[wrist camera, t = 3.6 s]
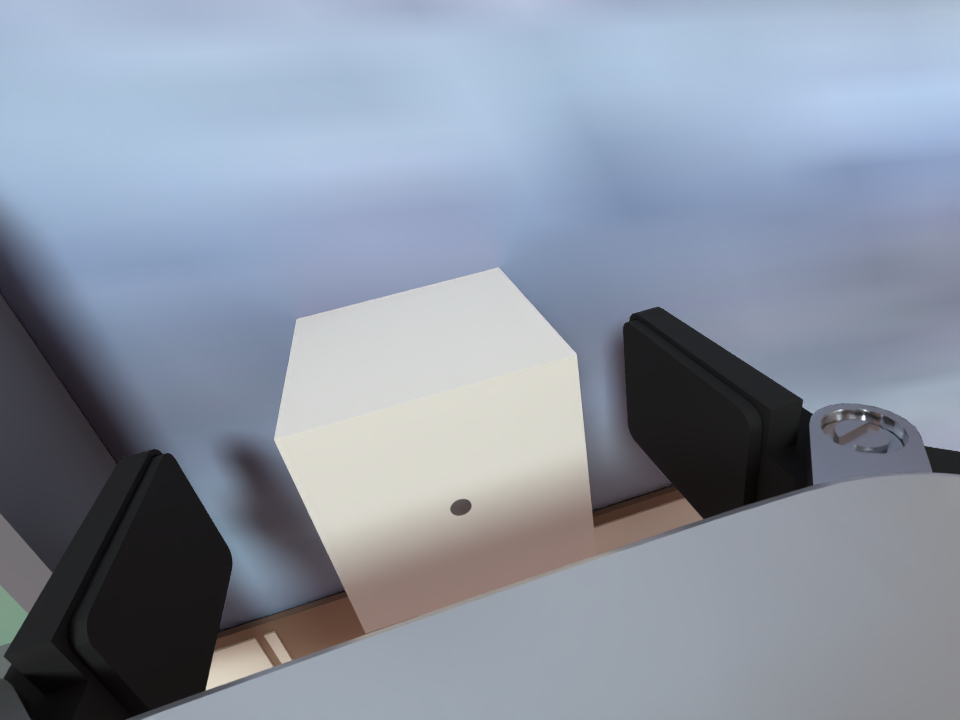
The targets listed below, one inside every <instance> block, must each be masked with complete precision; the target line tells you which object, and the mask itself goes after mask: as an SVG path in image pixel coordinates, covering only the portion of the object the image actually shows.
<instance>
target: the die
mask: <svg viewBox="0 0 960 720" xmlns="http://www.w3.org/2000/svg"><path fill="white" fill-rule="evenodd" d="M274 441H275V443H276V445H277V447H278V449H279V451H280V453H281V456H282V458H283V460H284V462H285V464H286V466H287V468H288V470H289V473H290V475H291V477H292V479H293V481H294V483H295V485H296V487H297V489H298V492H299V494H300V496H301V498H302V500H303V502H304V504H305V506H306V509H307V511H308V513H309V515H310V517H311V519H312V521H313V523H314V525H315V528H316V530H317V532H318V534H319V536H320V538H321V540H322V542H323V545H324V547H325V549H326V551H327V553H328V555H329V557H330V559H331V561H332V564H333V566H334V568H335V570H336V572H337V574H338V576H339V578H340V580H341V583H342V585H343V587H344V589H345V591H346V593H347V595H348V597H349V600H350V602H351V604H352V606H353V608H354V610H355V612H356V614H357V616H358V619H359V621H360V623H361V625H362V627H363V629H364V631H365V633H369V632H372V631H375V630H378V629H381V628H384V627H387V626H390V625H393V624H396V623H399V622H402V621H405V620H408V619H411V618H414V617H417V616H420V615H423V614H426V613H429V612H432V611H435V610H438V609H441V608H444V607H446V606H449V605H452V604H455V603H458V602H461V601H464V600H467V599H470V598H473V597H475V596H478V595H481V594H484V593H487V592H490V591H493V590H496V589H499V588H502V587H505V586H508V585H510V584H513V583H516V582H519V581H522V580H525V579H528V578H531V577H534V576H537V575H540V574H542V573H545V572H548V571H551V570H554V569H557V568H560V567H563V566H566V565H569V564H572V563H575V562H578V561H581V560H584V559H587V558H590V557H593V556H596V555H597V554H596V544H595V534H594V524H593V514H592V504H591V494H590V484H589V473H588V463H587V453H586V443H585V433H584V423H583V413H582V403H581V392H580V382H579V372H578V362H577V354H576V353H575V352H574V351H573V350H572V348H571V347H570V346H569V345H568V344H567V343H566V342H565V341H564V340H563V338H562V337H561V336H560V335H559V334H558V333H557V332H556V331H555V330H554V328H553V327H552V326H551V325H550V324H549V323H548V322H547V321H546V320H545V318H544V317H543V316H542V315H541V314H540V313H539V312H538V311H537V309H536V308H535V307H534V306H533V305H532V304H531V303H530V302H529V301H528V299H527V298H526V297H525V296H524V295H523V294H522V293H521V292H520V291H519V289H518V288H517V287H516V286H515V285H514V284H513V283H512V282H511V280H510V279H509V278H508V277H507V276H506V275H505V274H504V273H503V272H502V270H501V269H500V268H499V267H498V268H494V269H491V270H487V271H483V272H479V273H475V274H471V275H467V276H463V277H459V278H455V279H451V280H448V281H444V282H440V283H436V284H432V285H428V286H424V287H420V288H416V289H412V290H408V291H405V292H401V293H397V294H393V295H389V296H385V297H381V298H377V299H373V300H369V301H365V302H362V303H358V304H354V305H350V306H346V307H342V308H338V309H334V310H330V311H326V312H322V313H319V314H315V315H311V316H307V317H303V318H299V319H297V320H296V325H295V331H294V336H293V341H292V347H291V352H290V357H289V363H288V368H287V373H286V379H285V384H284V389H283V395H282V400H281V405H280V411H279V416H278V421H277V427H276V432H275V437H274Z"/></svg>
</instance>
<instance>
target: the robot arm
mask: <svg viewBox="0 0 960 720" xmlns="http://www.w3.org/2000/svg"><path fill="white" fill-rule="evenodd" d="M623 335H624V355H625V374H626V394H627V413H628V427H629V430H630V433H631V435H632V437H633V439H634V440H635V441H636V443H637V444H638V445H639V446H640V447H641V448H642V449H643V451H644V452H645V453H646V454H647V455H648V456H649V457H650V459H651V460H652V461H653V462H654V463H655V464H656V465H657V467H658V468H659V469H660V470H661V471H662V472H663V473H664V475H665V476H666V477H667V478H668V479H669V480H670V482H671V483H672V484H673V485H674V486H675V487H676V488H677V490H678V491H679V492H680V493H681V494H682V495H683V496H684V498H685V499H686V500H687V501H688V502H689V503H690V504H691V506H692V507H693V508H694V509H695V510H696V511H697V512H698V514H699V515H700V516H701V517H702V518H703V520H700V521H697V522H694V523H690V524H687V525H684V526H681V527H678V528H675V529H672V530H669V531H666V532H664V533H661V534H658V535H655V536H652V537H649V538H646V539H643V540H640V541H637V542H634V543H631V544H628V545H625V546H622V547H619V548H616V549H613V550H610V551H607V552H604V553H601V554H598V555H596V556H593V557H590V558H587V559H584V560H581V561H578V562H575V563H572V564H569V565H566V566H563V567H560V568H557V569H554V570H551V571H548V572H545V573H542V574H540V575H537V576H534V577H531V578H528V579H525V580H522V581H519V582H516V583H513V584H510V585H508V586H505V587H502V588H499V589H496V590H493V591H490V592H487V593H484V594H481V595H478V596H475V597H473V598H470V599H467V600H464V601H461V602H458V603H455V604H452V605H449V606H446V607H444V608H441V609H438V610H435V611H432V612H429V613H426V614H423V615H420V616H418V617H415V618H412V619H409V620H406V621H403V622H400V623H397V624H394V625H392V626H389V627H386V628H383V629H380V630H377V631H374V632H371V633H368V634H366V635H363V636H360V637H357V638H354V639H351V640H349V641H346V642H343V643H340V644H337V645H334V646H331V647H329V648H326V649H323V650H320V651H317V652H314V653H311V654H309V655H306V656H303V657H300V658H297V659H294V660H291V661H289V662H286V663H283V664H280V665H277V666H274V667H272V668H269V669H266V670H263V671H260V672H257V673H254V674H252V675H249V676H246V677H243V678H240V679H237V680H234V681H232V682H229V683H226V684H223V685H220V686H217V687H215V688H212V689H209V690H206V686H207V681H208V677H209V672H210V667H211V663H212V658H213V654H214V649H215V644H216V640H217V635H218V631H219V626H220V621H221V617H222V612H223V608H224V603H225V598H226V594H227V589H228V584H229V580H230V575H231V571H232V556H231V552H230V550H229V548H228V546H227V544H226V543H225V541H224V539H223V538H222V536H221V534H220V533H219V531H218V529H217V528H216V526H215V524H214V523H213V521H212V519H211V518H210V516H209V514H208V513H207V511H206V509H205V508H204V506H203V504H202V503H201V501H200V499H199V498H198V496H197V494H196V493H195V491H194V489H193V488H192V486H191V484H190V483H189V481H188V479H187V478H186V476H185V474H184V473H183V471H182V469H181V468H180V466H179V464H178V463H177V461H176V459H175V458H174V457H173V456H172V455H171V454H169V453H166V454H162V453H161V452H160V451H159V450H156V449H153V450H149V451H146V452H142V453H139V454H135V455H132V456H128V457H125V458H122V459H121V460H120V461H119V462H118V463H117V465H116V467H115V468H114V470H113V472H112V473H111V475H110V477H109V478H108V480H107V482H106V484H105V485H104V487H103V489H102V490H101V492H100V494H99V495H98V497H97V499H96V500H95V502H94V504H93V506H92V507H91V509H90V511H89V512H88V514H87V516H86V517H85V519H84V521H83V522H82V524H81V526H80V528H79V529H78V531H77V533H76V534H75V536H74V538H73V539H72V541H71V543H70V544H69V546H68V548H67V550H66V551H65V553H64V555H63V556H62V558H61V560H60V561H59V563H58V565H57V566H56V568H55V570H54V572H53V573H52V575H51V577H50V578H49V580H48V582H47V583H46V585H45V587H44V588H43V590H42V592H41V594H40V595H39V597H38V599H37V600H36V602H35V604H34V605H33V607H32V609H31V610H30V612H29V614H28V616H27V617H26V619H25V621H24V622H23V624H22V626H21V627H20V629H19V631H18V632H17V634H16V636H15V638H14V639H13V641H12V643H11V644H10V646H9V648H8V649H7V651H6V653H5V654H4V656H3V657H5V658H6V659H7V660H8V661H9V662H10V663H11V666H10V667H9V669H8V671H7V673H6V674H5V676H4V678H3V679H0V720H960V452H958V451H951V450H945V449H939V448H932V447H926V446H924V444H923V441H922V438H921V435H920V434H919V432H918V431H917V429H916V427H915V426H913V425H912V424H911V423H910V422H908V421H907V420H906V419H904V418H902V417H900V416H898V415H896V414H894V413H892V412H890V411H887V410H884V409H881V408H878V407H874V406H868V405H862V404H844V403H842V404H835V405H829V406H826V407H824V408H821V409H819V410H817V411H816V412H815V413H814V414H812V413H810V412H809V411H807V410H806V409H804V408H803V407H802V404H803V399H801V398H800V397H798V396H796V395H795V394H793V393H792V392H790V391H789V390H787V389H786V388H784V387H783V386H781V385H779V384H778V383H776V382H775V381H773V380H772V379H770V378H769V377H767V376H766V375H764V374H762V373H761V372H759V371H758V370H756V369H755V368H753V367H752V366H750V365H749V364H747V363H745V362H744V361H742V360H741V359H739V358H738V357H736V356H735V355H733V354H732V353H730V352H728V351H727V350H725V349H724V348H722V347H721V346H719V345H718V344H716V343H715V342H713V341H711V340H710V339H708V338H707V337H705V336H704V335H702V334H701V333H699V332H698V331H696V330H695V329H693V328H691V327H690V326H688V325H687V324H685V323H684V322H682V321H681V320H679V319H678V318H676V317H674V316H673V315H671V314H670V313H668V312H667V311H665V310H664V309H662V308H660V307H655V308H652V309H648V310H644V311H641V312H637V313H634V314H632V315H631V316H630V320H629V322H626V323H625V324H624V327H623Z"/></svg>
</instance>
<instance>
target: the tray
mask: <svg viewBox="0 0 960 720" xmlns="http://www.w3.org/2000/svg"><path fill="white" fill-rule="evenodd" d="M116 465H117V464H116V462H115V461H114V459H113V458H112V456H111V455H110V454H109V452H108V451H107V449H106V448H105V446H104V445H103V443H102V442H101V440H100V439H99V437H98V436H97V434H96V433H95V432H94V430H93V429H92V427H91V426H90V424H89V423H88V421H87V420H86V418H85V417H84V415H83V414H82V412H81V411H80V410H79V408H78V407H77V405H76V404H75V402H74V401H73V399H72V398H71V396H70V395H69V393H68V392H67V390H66V389H65V388H64V386H63V385H62V383H61V382H60V380H59V379H58V377H57V376H56V374H55V373H54V371H53V370H52V368H51V367H50V365H49V364H48V363H47V361H46V360H45V358H44V357H43V355H42V354H41V352H40V351H39V349H38V348H37V346H36V345H35V343H34V342H33V341H32V339H31V338H30V336H29V335H28V333H27V332H26V330H25V329H24V327H23V326H22V324H21V323H20V321H19V320H18V319H17V317H16V316H15V314H14V313H13V311H12V310H11V308H10V307H9V305H8V304H7V302H6V301H5V299H4V298H3V297H2V295H1V294H0V679H3V678H4V676H5V674H6V673H7V671H8V669H9V667H10V666H11V663H10V662H9V661H8V660H7V659H6V658H5V657H3V656H4V654H5V653H6V651H7V649H8V648H9V646H10V644H11V643H12V641H13V639H14V638H15V636H16V634H17V632H18V631H19V629H20V627H21V626H22V624H23V622H24V621H25V619H26V617H27V616H28V614H29V612H30V610H31V609H32V607H33V605H34V604H35V602H36V600H37V599H38V597H39V595H40V594H41V592H42V590H43V588H44V587H45V585H46V583H47V582H48V580H49V578H50V577H51V575H52V573H53V572H54V570H55V568H56V566H57V565H58V563H59V561H60V560H61V558H62V556H63V555H64V553H65V551H66V550H67V548H68V546H69V544H70V543H71V541H72V539H73V538H74V536H75V534H76V533H77V531H78V529H79V528H80V526H81V524H82V522H83V521H84V519H85V517H86V516H87V514H88V512H89V511H90V509H91V507H92V506H93V504H94V502H95V500H96V499H97V497H98V495H99V494H100V492H101V490H102V489H103V487H104V485H105V484H106V482H107V480H108V478H109V477H110V475H111V473H112V472H113V470H114V468H115V467H116Z"/></svg>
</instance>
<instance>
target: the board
mask: <svg viewBox="0 0 960 720" xmlns="http://www.w3.org/2000/svg"><path fill="white" fill-rule="evenodd" d="M592 514H593V524H594V534H595V544H596V554H597V555H598V554H601V553H604V552H607V551H610V550H613V549H616V548H619V547H622V546H625V545H628V544H631V543H634V542H637V541H640V540H643V539H646V538H649V537H652V536H655V535H658V534H661V533H664V532H666V531H669V530H672V529H675V528H678V527H681V526H684V525H687V524H690V523H694V522H697V521H700V520H703V518H702V517H701V516H700V515H699V514H698V512H697V511H696V510H695V509H694V508H693V507H692V506H691V504H690V503H689V502H688V501H687V500H686V499H685V498H684V496H683V495H682V494H681V493H680V492H679V491H678V490H677V488H676V487H675V486H671V487H668V488H665V489H662V490H659V491H656V492H653V493H650V494H647V495H643V496H640V497H637V498H634V499H631V500H628V501H625V502H622V503H619V504H616V505H612V506H609V507H606V508H603V509H600V510H597V511H594V512H592ZM417 617H418V616H417ZM414 618H415V617H414ZM411 619H412V618H411ZM408 620H409V619H408ZM405 621H406V620H405ZM402 622H403V621H402ZM399 623H400V622H399ZM396 624H397V623H396ZM393 625H394V624H393ZM390 626H392V625H390ZM387 627H389V626H387ZM384 628H386V627H384ZM381 629H383V628H381ZM378 630H380V629H378ZM375 631H377V630H375ZM372 632H374V631H372ZM369 633H371V632H369ZM366 634H368V633H365V631H364V629H363V627H362V625H361V623H360V621H359V619H358V616H357V614H356V612H355V610H354V608H353V606H352V604H351V602H350V600H349V597H348V595H347V593H346V591H345V592H342V593H339V594H336V595H333V596H330V597H327V598H324V599H321V600H317V601H314V602H311V603H308V604H305V605H302V606H299V607H296V608H293V609H290V610H286V611H283V612H280V613H277V614H274V615H271V616H268V617H265V618H262V619H259V620H255V621H252V622H249V623H246V624H243V625H240V626H237V627H234V628H231V629H227V630H224V631H221V632H218V635H217V640H216V644H215V649H214V654H213V658H212V663H211V667H210V672H209V677H208V681H207V686H206V690H209V689H212V688H215V687H217V686H220V685H223V684H226V683H229V682H232V681H234V680H237V679H240V678H243V677H246V676H249V675H252V674H254V673H257V672H260V671H263V670H266V669H269V668H272V667H274V666H277V665H280V664H283V663H286V662H289V661H291V660H294V659H297V658H300V657H303V656H306V655H309V654H311V653H314V652H317V651H320V650H323V649H326V648H329V647H331V646H334V645H337V644H340V643H343V642H346V641H349V640H351V639H354V638H357V637H360V636H363V635H366Z"/></svg>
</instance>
